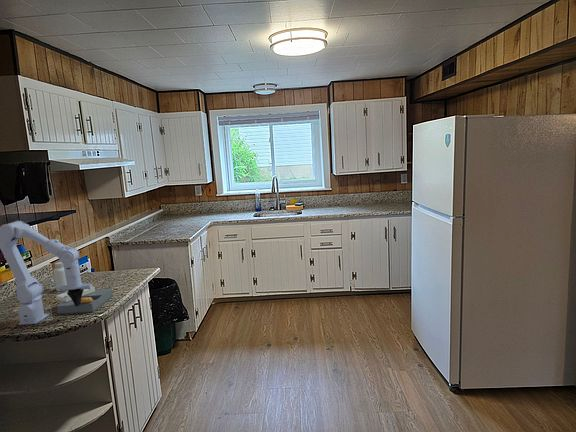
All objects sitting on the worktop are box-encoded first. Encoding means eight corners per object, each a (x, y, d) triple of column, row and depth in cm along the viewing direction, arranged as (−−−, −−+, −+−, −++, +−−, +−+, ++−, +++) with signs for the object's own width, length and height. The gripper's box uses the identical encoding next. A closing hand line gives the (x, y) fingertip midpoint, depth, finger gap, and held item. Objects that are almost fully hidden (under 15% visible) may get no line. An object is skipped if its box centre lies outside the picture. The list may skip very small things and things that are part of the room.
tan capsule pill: (91, 303, 176) (90, 298, 176) (75, 304, 177) (74, 299, 176) (93, 301, 179) (93, 296, 178) (78, 302, 179) (77, 297, 179)
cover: (95, 291, 192) (94, 286, 192) (66, 302, 180) (65, 297, 179) (85, 289, 196) (84, 284, 196) (56, 299, 184) (55, 294, 183)
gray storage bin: (93, 312, 176) (92, 303, 176) (58, 314, 177) (57, 306, 176) (113, 295, 196) (112, 288, 195) (81, 297, 196) (80, 290, 196)
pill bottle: (64, 292, 207) (59, 265, 205) (52, 291, 210) (48, 264, 208) (76, 286, 215) (72, 260, 212) (65, 286, 217) (61, 260, 215)
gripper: (93, 272, 175) (98, 300, 177) (61, 274, 175) (66, 302, 177) (85, 277, 168) (90, 306, 170) (52, 279, 168) (57, 308, 170)
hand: (77, 305), depth 173 cm, fingers closed
